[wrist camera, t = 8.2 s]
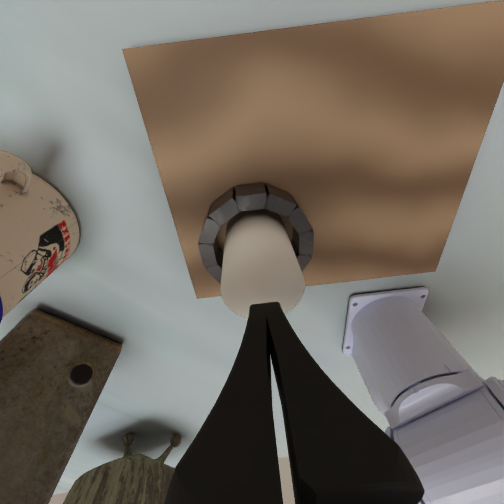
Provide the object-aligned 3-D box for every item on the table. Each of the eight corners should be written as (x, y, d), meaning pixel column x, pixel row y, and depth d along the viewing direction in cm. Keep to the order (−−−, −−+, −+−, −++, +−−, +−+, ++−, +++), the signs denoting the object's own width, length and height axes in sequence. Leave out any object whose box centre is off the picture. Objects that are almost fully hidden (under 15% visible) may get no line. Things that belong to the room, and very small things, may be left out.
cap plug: (284, 254, 20) (303, 316, 14) (229, 258, 20) (225, 322, 14) (284, 201, 18) (307, 250, 12) (222, 206, 18) (214, 258, 12)
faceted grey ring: (304, 268, 21) (312, 286, 19) (214, 279, 21) (211, 298, 19) (305, 176, 17) (315, 187, 15) (193, 190, 17) (187, 202, 15)
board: (424, 262, 23) (435, 271, 22) (199, 288, 24) (196, 298, 22) (507, 6, 14) (534, -4, 13) (132, 54, 14) (121, 49, 13)
